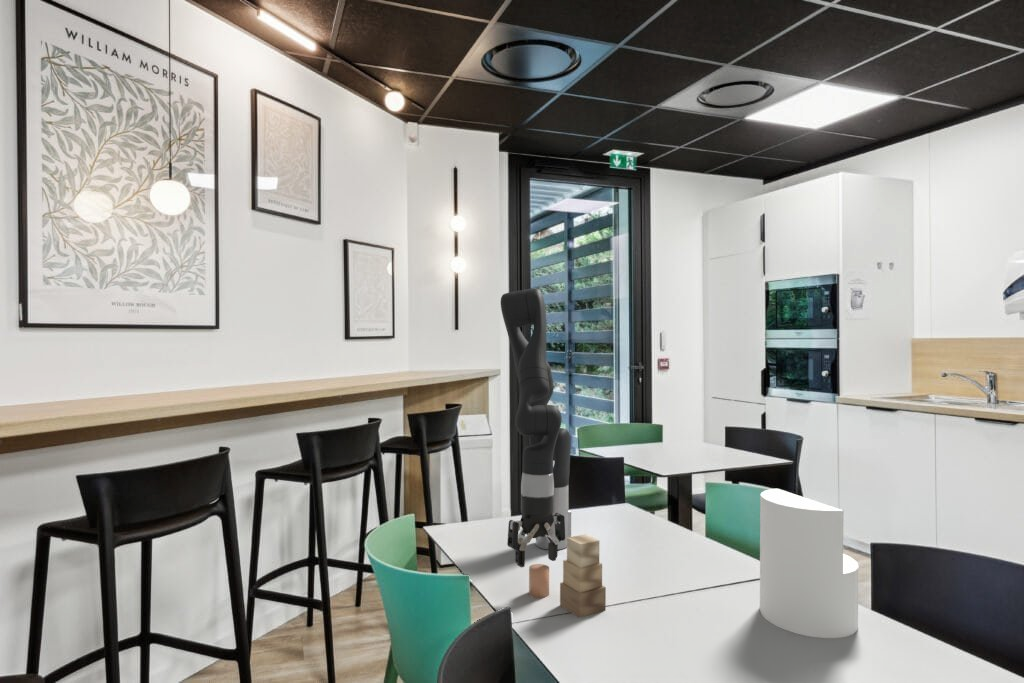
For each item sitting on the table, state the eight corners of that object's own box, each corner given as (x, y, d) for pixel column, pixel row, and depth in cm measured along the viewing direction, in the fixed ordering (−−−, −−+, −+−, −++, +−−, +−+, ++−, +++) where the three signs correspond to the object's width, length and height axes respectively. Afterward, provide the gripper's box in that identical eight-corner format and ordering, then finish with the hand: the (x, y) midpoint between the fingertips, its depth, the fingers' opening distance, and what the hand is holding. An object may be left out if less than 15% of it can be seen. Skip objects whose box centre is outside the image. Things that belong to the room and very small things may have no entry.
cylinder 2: (796, 642, 120) (797, 513, 120) (742, 601, 138) (743, 489, 138) (880, 633, 124) (881, 508, 124) (816, 595, 142) (817, 486, 142)
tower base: (585, 598, 140) (585, 576, 140) (605, 610, 134) (605, 587, 134) (560, 605, 136) (560, 582, 136) (579, 617, 130) (579, 594, 130)
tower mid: (585, 577, 139) (585, 555, 139) (602, 586, 134) (602, 563, 134) (563, 583, 136) (563, 560, 136) (579, 592, 131) (579, 569, 131)
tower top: (585, 556, 138) (585, 534, 138) (599, 563, 134) (599, 540, 134) (566, 560, 136) (567, 537, 136) (580, 567, 132) (580, 544, 132)
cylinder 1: (541, 588, 146) (541, 562, 145) (553, 595, 142) (553, 569, 142) (525, 592, 143) (525, 566, 143) (536, 599, 139) (536, 572, 139)
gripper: (553, 485, 149) (552, 553, 149) (502, 492, 142) (501, 563, 142) (572, 492, 143) (571, 562, 142) (519, 499, 135) (518, 573, 135)
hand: (536, 563), depth 142 cm, fingers open, 8 cm apart
